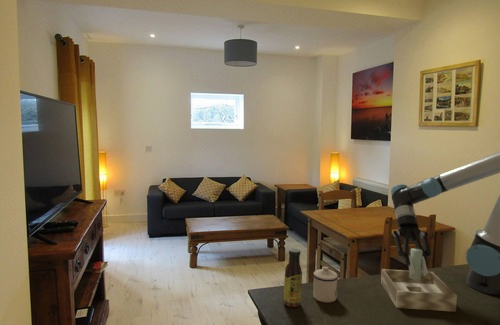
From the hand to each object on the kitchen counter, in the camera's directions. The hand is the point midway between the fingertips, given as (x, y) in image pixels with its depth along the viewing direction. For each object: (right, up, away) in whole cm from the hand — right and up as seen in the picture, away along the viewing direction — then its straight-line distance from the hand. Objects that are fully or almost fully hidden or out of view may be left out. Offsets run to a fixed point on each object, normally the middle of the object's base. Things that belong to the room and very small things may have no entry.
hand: (419, 274), depth 126 cm
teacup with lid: (-35, -10, +4) cm, 36 cm away
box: (+1, -10, +4) cm, 11 cm away
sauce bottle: (-47, -10, -3) cm, 48 cm away
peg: (0, -3, +4) cm, 5 cm away
